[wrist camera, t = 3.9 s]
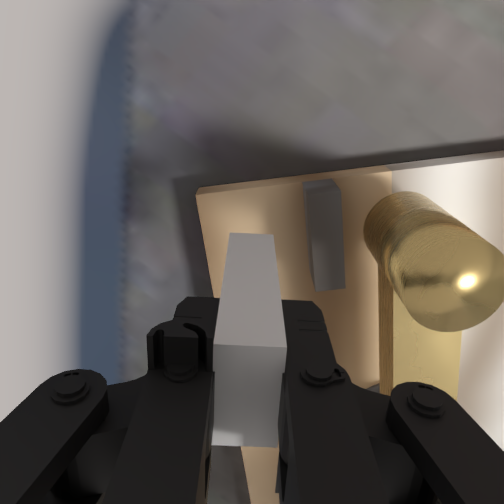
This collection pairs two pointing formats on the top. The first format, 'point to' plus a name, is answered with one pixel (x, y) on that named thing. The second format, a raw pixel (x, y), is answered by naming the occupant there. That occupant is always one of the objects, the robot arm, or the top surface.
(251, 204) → the door plate
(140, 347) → the top surface
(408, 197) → the latch lever
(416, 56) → the top surface
